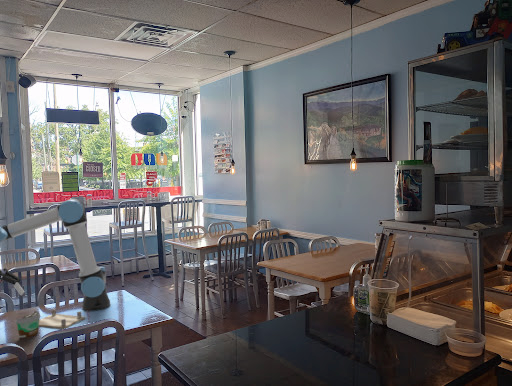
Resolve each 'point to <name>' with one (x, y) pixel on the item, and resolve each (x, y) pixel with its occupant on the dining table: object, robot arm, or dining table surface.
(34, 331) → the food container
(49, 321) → the pin plate
